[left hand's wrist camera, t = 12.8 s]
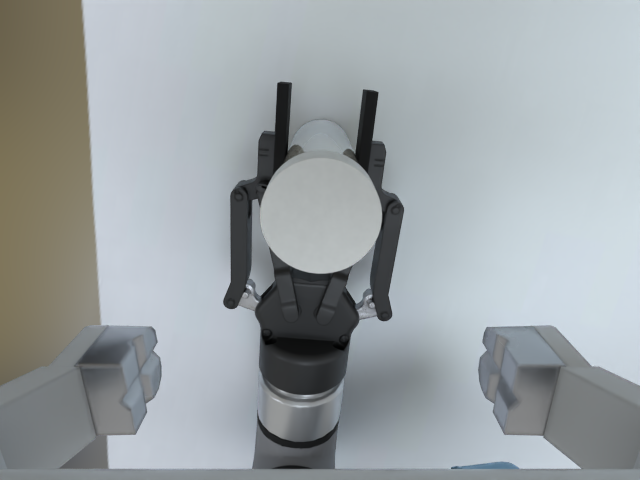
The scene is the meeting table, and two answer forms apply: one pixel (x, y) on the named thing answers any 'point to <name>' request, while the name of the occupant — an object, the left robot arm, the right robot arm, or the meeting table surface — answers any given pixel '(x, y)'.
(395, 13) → the meeting table surface
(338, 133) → the jar
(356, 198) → the lid
